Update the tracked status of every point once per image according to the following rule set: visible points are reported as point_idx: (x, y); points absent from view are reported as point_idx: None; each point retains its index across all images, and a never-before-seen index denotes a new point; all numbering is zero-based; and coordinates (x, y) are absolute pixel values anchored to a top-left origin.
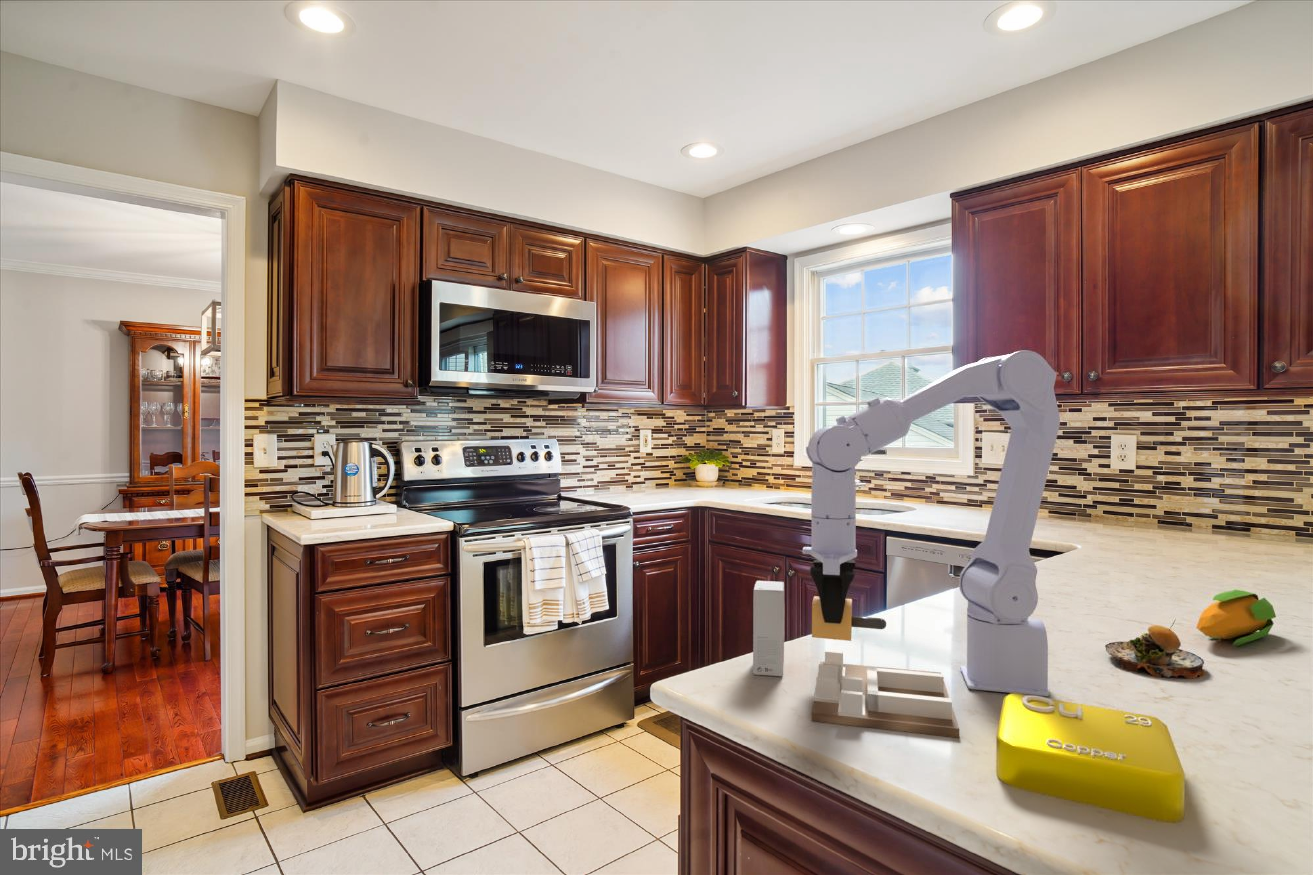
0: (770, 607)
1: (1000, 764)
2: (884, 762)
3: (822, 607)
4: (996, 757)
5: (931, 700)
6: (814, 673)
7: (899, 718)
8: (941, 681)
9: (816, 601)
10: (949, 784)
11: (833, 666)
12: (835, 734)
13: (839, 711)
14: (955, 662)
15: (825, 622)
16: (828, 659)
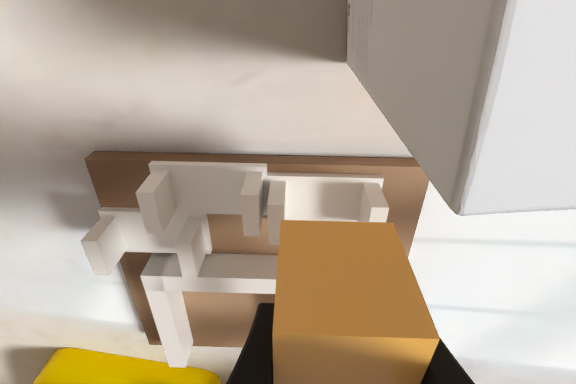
0: (416, 68)
1: (47, 366)
2: (12, 254)
3: (239, 357)
4: (62, 366)
5: (163, 348)
6: (389, 145)
7: (144, 289)
8: None
9: (321, 346)
10: (9, 309)
11: (251, 227)
12: (62, 192)
13: (101, 213)
14: (469, 362)
15: (258, 305)
16: (365, 203)
